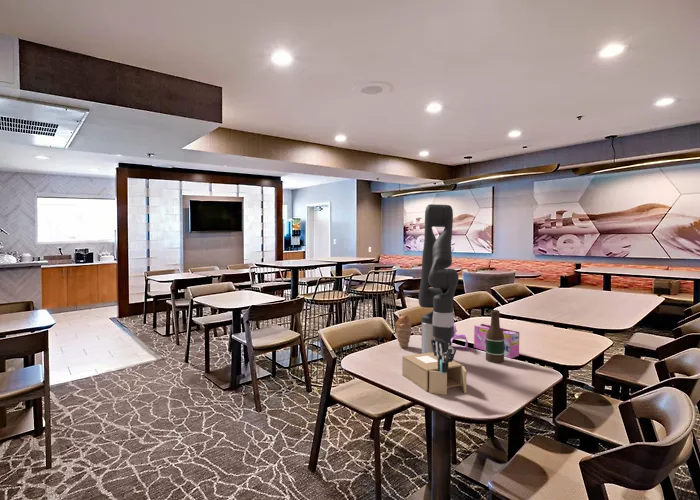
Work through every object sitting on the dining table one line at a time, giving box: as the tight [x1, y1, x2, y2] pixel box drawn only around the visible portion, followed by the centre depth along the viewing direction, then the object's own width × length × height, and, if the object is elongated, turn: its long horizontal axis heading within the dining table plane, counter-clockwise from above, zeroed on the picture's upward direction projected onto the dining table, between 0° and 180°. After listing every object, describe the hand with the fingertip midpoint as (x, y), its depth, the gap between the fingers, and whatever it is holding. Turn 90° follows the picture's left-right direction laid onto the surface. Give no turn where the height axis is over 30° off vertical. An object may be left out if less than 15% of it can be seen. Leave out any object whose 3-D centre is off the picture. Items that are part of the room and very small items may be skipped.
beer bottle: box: [485, 309, 505, 364], centre depth 170 cm, size 8×8×24 cm
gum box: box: [473, 323, 521, 359], centre depth 184 cm, size 22×7×13 cm, turn 32°
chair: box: [451, 322, 469, 350], centre depth 190 cm, size 8×9×15 cm
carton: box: [401, 352, 463, 393], centre depth 148 cm, size 16×18×8 cm
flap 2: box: [461, 365, 467, 394], centre depth 139 cm, size 6×1×8 cm, turn 171°
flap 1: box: [428, 359, 448, 396], centre depth 135 cm, size 6×2×12 cm, turn 71°
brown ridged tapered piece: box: [395, 313, 412, 349], centre depth 192 cm, size 9×8×18 cm
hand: (443, 370), depth 135 cm, fingers closed on flap 1, 2 cm apart
